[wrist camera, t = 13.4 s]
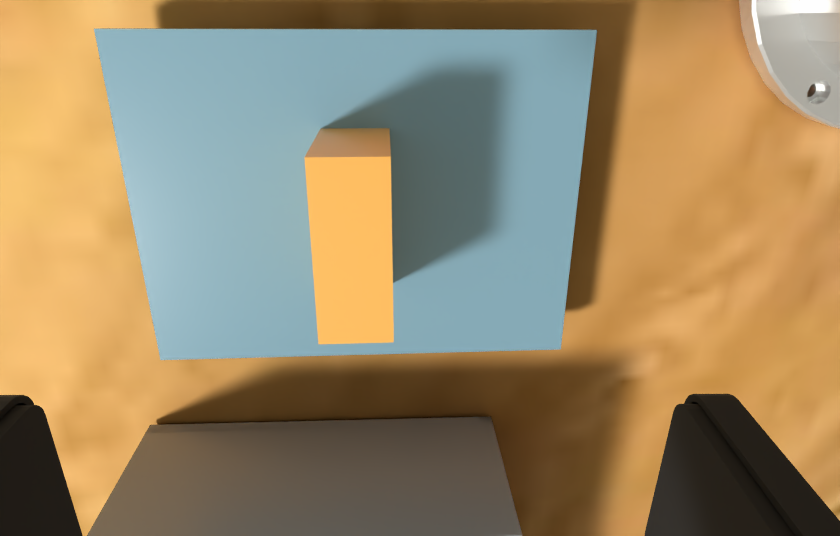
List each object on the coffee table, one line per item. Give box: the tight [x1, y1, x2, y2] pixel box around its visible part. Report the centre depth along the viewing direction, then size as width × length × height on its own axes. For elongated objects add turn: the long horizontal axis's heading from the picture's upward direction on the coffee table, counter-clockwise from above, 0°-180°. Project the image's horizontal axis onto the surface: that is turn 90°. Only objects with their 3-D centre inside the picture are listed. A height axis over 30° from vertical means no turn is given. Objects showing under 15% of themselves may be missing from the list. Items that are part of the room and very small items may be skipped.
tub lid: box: [94, 28, 597, 360], centre depth 21 cm, size 16×12×6 cm
